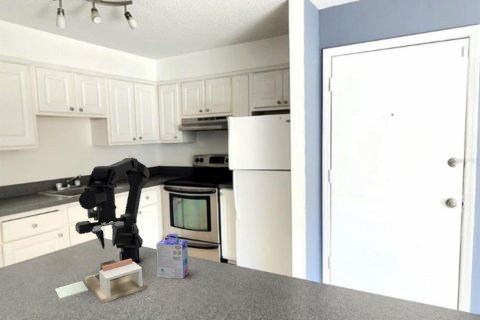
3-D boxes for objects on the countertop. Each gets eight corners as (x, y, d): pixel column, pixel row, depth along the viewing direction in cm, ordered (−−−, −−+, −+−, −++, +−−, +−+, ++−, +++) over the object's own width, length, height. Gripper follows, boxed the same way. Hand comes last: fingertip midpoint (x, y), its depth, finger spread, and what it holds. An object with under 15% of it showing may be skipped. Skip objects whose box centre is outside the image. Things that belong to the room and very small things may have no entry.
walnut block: (114, 274, 110) (113, 259, 110) (118, 278, 107) (118, 263, 106) (101, 278, 107) (100, 263, 107) (105, 283, 104) (104, 267, 103)
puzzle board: (124, 269, 115) (124, 265, 115) (147, 288, 100) (147, 284, 100) (84, 280, 106) (84, 277, 106) (102, 303, 91) (101, 299, 91)
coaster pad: (82, 282, 105) (81, 281, 105) (88, 291, 99) (88, 289, 99) (55, 290, 100) (54, 288, 100) (60, 300, 94) (59, 298, 94)
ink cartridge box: (189, 272, 111) (187, 233, 110) (183, 279, 106) (182, 238, 105) (163, 271, 113) (161, 232, 112) (156, 277, 107) (155, 237, 106)
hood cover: (134, 278, 104) (133, 257, 104) (142, 285, 99) (141, 263, 98) (100, 289, 97) (98, 266, 97) (107, 297, 92) (105, 273, 91)
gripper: (124, 195, 117) (126, 235, 118) (70, 203, 105) (72, 247, 106) (136, 200, 109) (138, 243, 110) (78, 208, 97) (81, 257, 98)
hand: (108, 247), depth 106 cm, fingers open, 3 cm apart
